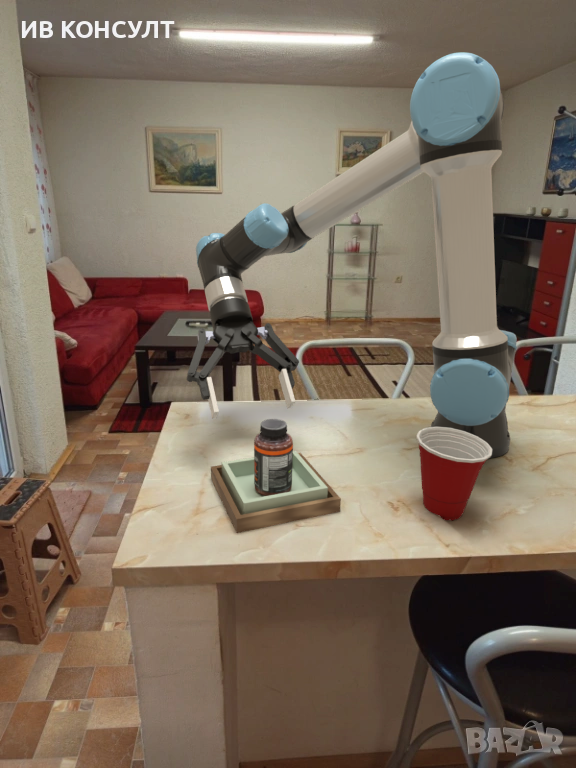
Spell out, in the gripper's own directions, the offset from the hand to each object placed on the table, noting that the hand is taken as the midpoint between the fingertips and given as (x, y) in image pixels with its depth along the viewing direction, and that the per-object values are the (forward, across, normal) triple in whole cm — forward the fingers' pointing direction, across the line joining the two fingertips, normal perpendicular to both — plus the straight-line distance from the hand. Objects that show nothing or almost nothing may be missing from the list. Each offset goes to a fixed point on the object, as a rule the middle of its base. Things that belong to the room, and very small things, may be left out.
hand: (254, 410), depth 88 cm
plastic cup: (+24, -23, +8) cm, 35 cm away
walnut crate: (+15, +1, 0) cm, 15 cm away
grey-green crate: (+15, +1, 0) cm, 15 cm away
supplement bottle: (+14, 0, +1) cm, 14 cm away
